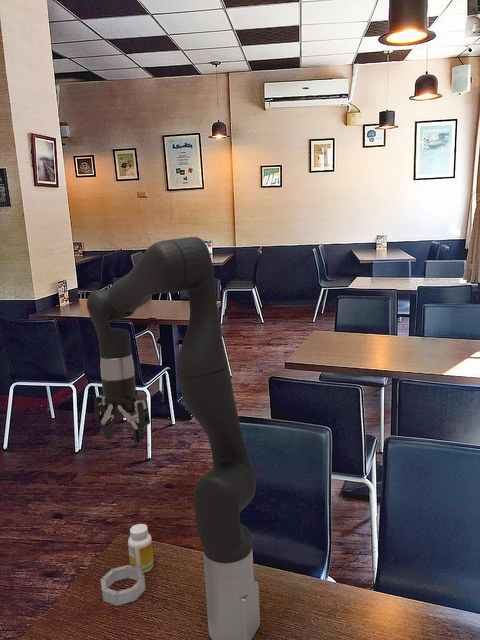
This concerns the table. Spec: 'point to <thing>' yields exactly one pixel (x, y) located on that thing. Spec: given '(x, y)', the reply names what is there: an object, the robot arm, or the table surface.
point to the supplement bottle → (140, 547)
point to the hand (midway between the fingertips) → (124, 440)
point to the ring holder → (126, 594)
